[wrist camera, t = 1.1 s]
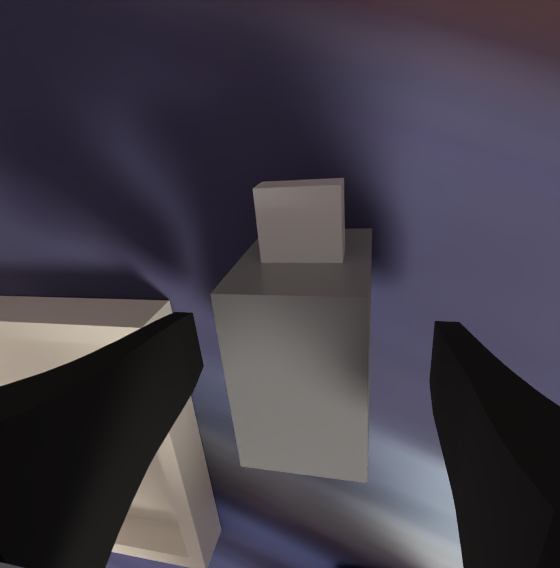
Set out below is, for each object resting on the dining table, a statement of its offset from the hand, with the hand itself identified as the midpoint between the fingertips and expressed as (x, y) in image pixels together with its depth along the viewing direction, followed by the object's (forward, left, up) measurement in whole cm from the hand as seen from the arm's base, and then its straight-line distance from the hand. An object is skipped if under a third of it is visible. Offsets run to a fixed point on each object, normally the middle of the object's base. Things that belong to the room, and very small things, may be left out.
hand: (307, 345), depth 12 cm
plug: (0, 0, -3) cm, 3 cm away
